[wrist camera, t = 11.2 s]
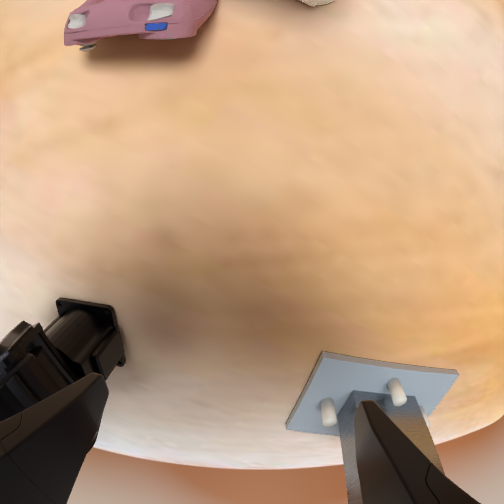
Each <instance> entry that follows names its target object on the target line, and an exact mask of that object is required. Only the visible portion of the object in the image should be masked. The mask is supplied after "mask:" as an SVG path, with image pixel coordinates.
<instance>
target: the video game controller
mask: <svg viewBox="0 0 504 504" xmlns="http://www.w3.org/2000/svg"><path fill="white" fill-rule="evenodd" d="M217 1H218V0H87V1H86V2H85V3H84V4H83V5H81V6H80V7H78V8H77V9H75V10H74V11H72V12H71V13H70V15H69V17H68V20H67V22H66V25H65V30H64V45H66V46H70V45H80V46H84V47H82V48H80V50H82V51H90V50H93V49H94V48H95V47H97V45H93V44H94V43H96V42H97V41H99V40H100V39H104V38H108V37H112V36H118V35H129V34H139V38H142V39H160V40H170V39H177V38H186V37H193V36H195V35H196V33H197V29H198V28H199V27H200V26H201V25H202V24H203V23H204V22H205V21H206V20H207V19H208V17H209V16H210V15H211V13H212V12H213V10H214V8H215V6H216V4H217Z"/></svg>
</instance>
